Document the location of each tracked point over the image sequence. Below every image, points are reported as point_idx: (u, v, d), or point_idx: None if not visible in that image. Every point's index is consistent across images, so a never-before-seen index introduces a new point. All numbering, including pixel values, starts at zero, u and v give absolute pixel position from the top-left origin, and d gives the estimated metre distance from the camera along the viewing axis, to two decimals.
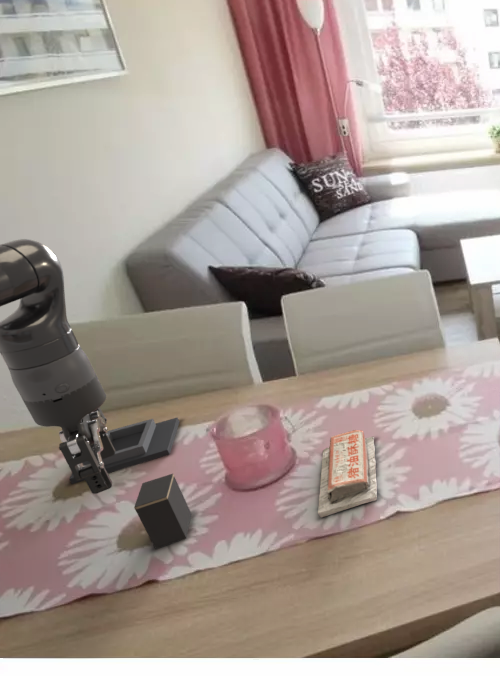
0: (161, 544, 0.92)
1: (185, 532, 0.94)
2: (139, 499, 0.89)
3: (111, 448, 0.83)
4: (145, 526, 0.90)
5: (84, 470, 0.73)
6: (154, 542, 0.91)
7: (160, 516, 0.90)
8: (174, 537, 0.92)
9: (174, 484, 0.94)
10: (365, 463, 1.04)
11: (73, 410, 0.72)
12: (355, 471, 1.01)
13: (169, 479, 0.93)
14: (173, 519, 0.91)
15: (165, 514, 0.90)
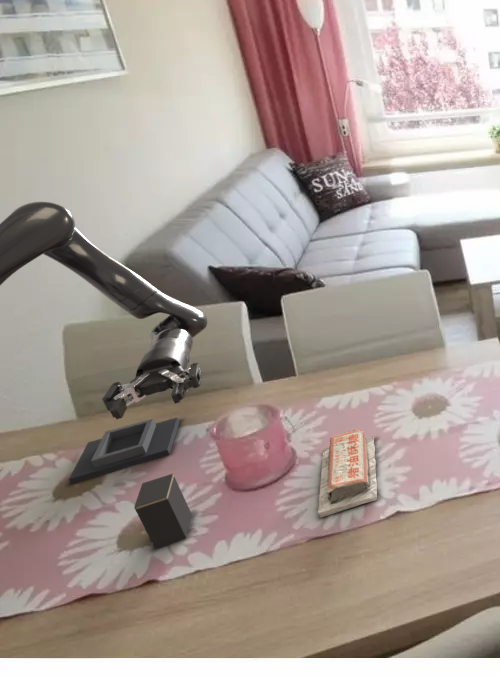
0: (161, 544, 0.92)
1: (185, 532, 0.94)
2: (139, 499, 0.89)
3: (123, 414, 0.96)
4: (145, 526, 0.90)
5: None
6: (154, 542, 0.91)
7: (160, 516, 0.90)
8: (174, 537, 0.92)
9: (174, 484, 0.94)
10: (365, 463, 1.04)
11: (185, 368, 1.09)
12: (355, 471, 1.01)
13: (169, 479, 0.93)
14: (173, 519, 0.91)
15: (165, 514, 0.90)
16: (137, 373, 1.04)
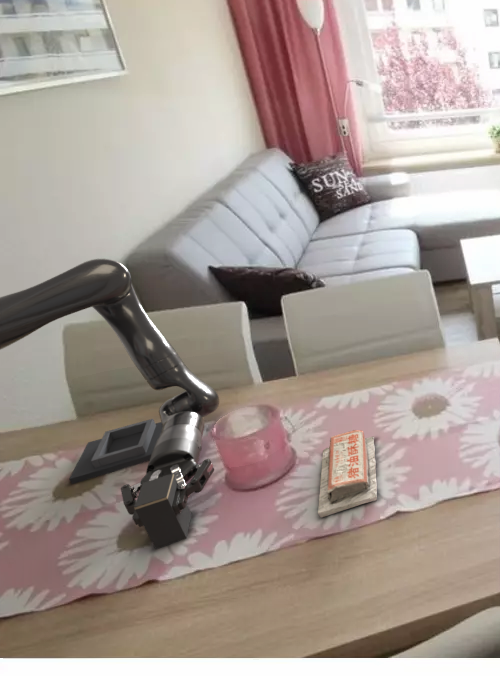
0: (161, 544, 0.92)
1: (185, 532, 0.94)
2: (139, 499, 0.89)
3: None
4: (145, 526, 0.90)
5: None
6: (154, 542, 0.91)
7: (160, 516, 0.90)
8: (175, 537, 0.92)
9: (174, 484, 0.94)
10: (365, 463, 1.04)
11: None
12: (355, 471, 1.01)
13: (169, 479, 0.93)
14: (173, 519, 0.91)
15: (165, 514, 0.90)
16: (148, 469, 0.99)
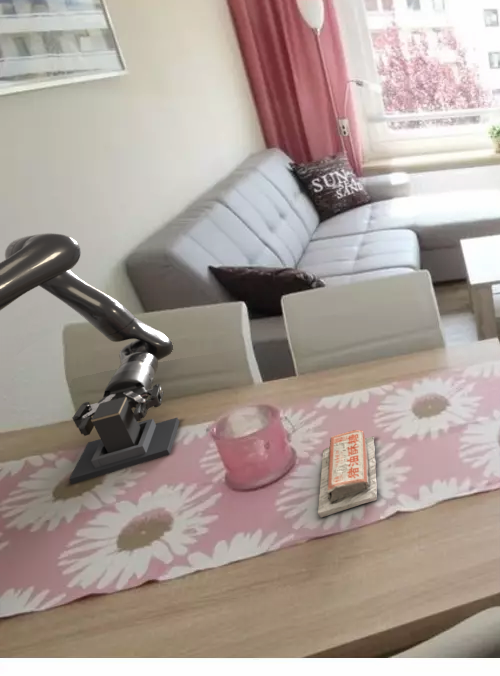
0: None
1: (135, 445, 1.13)
2: (96, 414, 1.08)
3: (90, 431, 1.09)
4: (101, 436, 1.09)
5: None
6: (109, 451, 1.10)
7: (113, 428, 1.09)
8: None
9: (126, 405, 1.13)
10: (365, 463, 1.04)
11: (149, 388, 1.22)
12: (355, 471, 1.01)
13: (122, 400, 1.12)
14: (124, 432, 1.10)
15: (117, 427, 1.10)
16: (105, 394, 1.17)
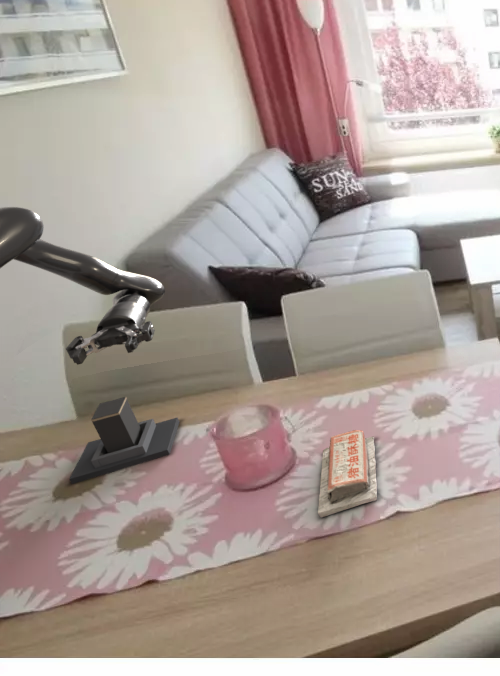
0: None
1: (135, 445, 1.13)
2: (96, 414, 1.08)
3: (83, 361, 1.13)
4: (101, 436, 1.09)
5: None
6: (109, 451, 1.10)
7: (113, 428, 1.09)
8: None
9: (126, 405, 1.13)
10: (365, 463, 1.04)
11: (140, 326, 1.26)
12: (355, 471, 1.01)
13: (122, 400, 1.12)
14: (124, 432, 1.10)
15: (117, 427, 1.10)
16: (97, 329, 1.21)
